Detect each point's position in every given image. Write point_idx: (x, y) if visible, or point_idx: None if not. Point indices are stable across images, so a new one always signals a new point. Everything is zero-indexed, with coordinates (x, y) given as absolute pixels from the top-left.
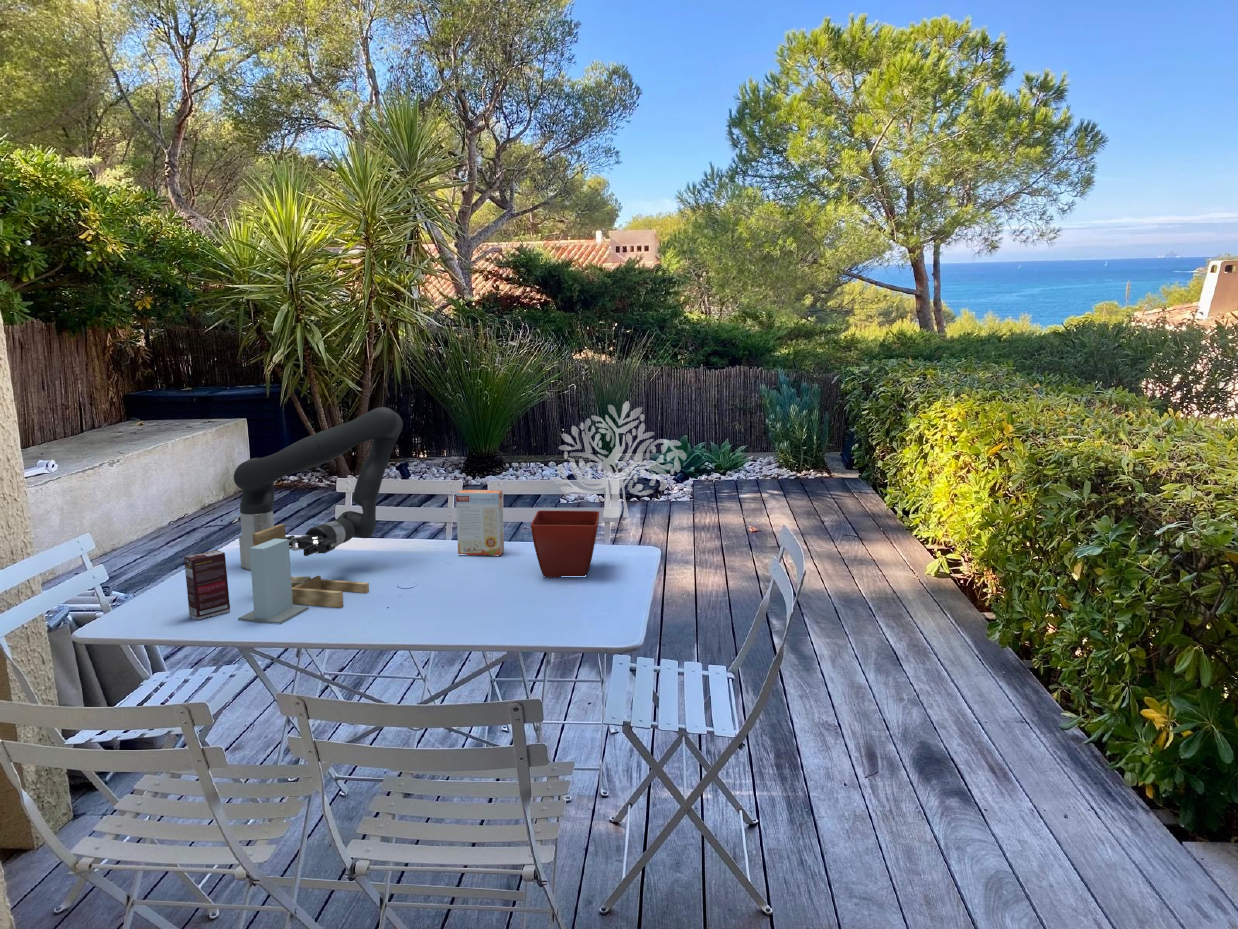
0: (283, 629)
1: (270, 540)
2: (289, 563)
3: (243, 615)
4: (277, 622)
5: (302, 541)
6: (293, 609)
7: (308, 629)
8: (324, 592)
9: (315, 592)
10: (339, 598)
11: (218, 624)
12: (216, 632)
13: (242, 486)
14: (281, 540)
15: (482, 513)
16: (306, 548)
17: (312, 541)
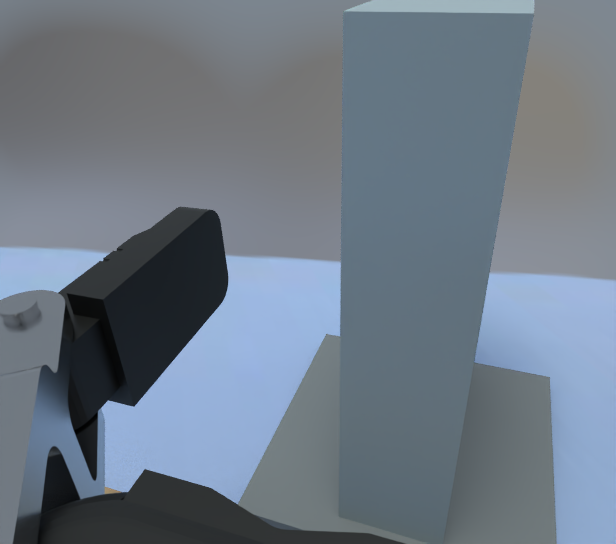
0: (296, 307)
1: (525, 2)
2: (344, 253)
3: (548, 401)
4: (339, 339)
5: (345, 532)
6: (317, 468)
7: None
8: (111, 492)
9: None
10: None
11: (599, 353)
12: (534, 297)
13: None
14: (403, 4)
15: None
16: (182, 208)
17: (55, 522)
